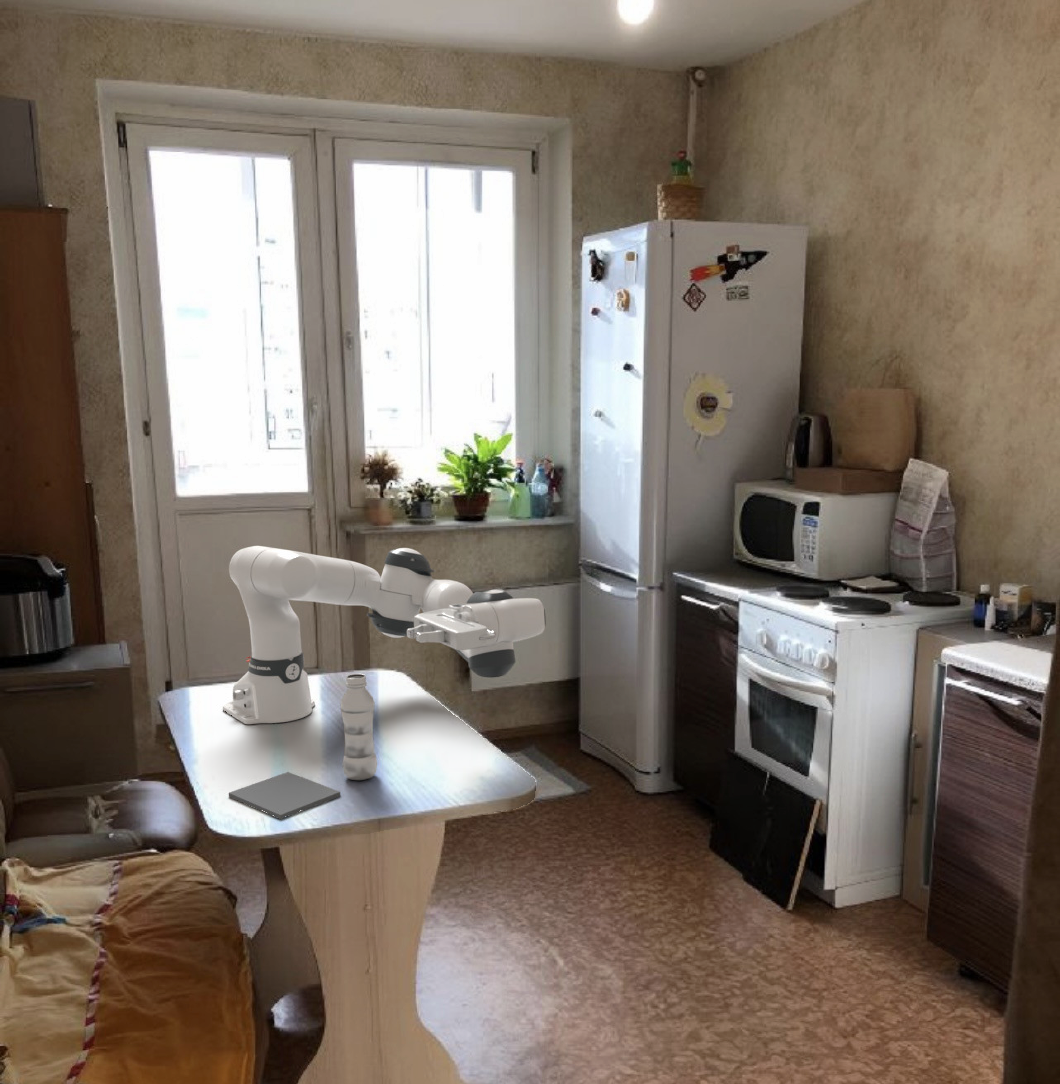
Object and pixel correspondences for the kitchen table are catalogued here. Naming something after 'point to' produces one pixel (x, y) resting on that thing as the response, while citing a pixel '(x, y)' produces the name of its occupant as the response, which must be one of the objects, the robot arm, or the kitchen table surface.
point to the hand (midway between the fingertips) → (412, 636)
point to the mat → (284, 794)
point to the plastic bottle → (358, 729)
